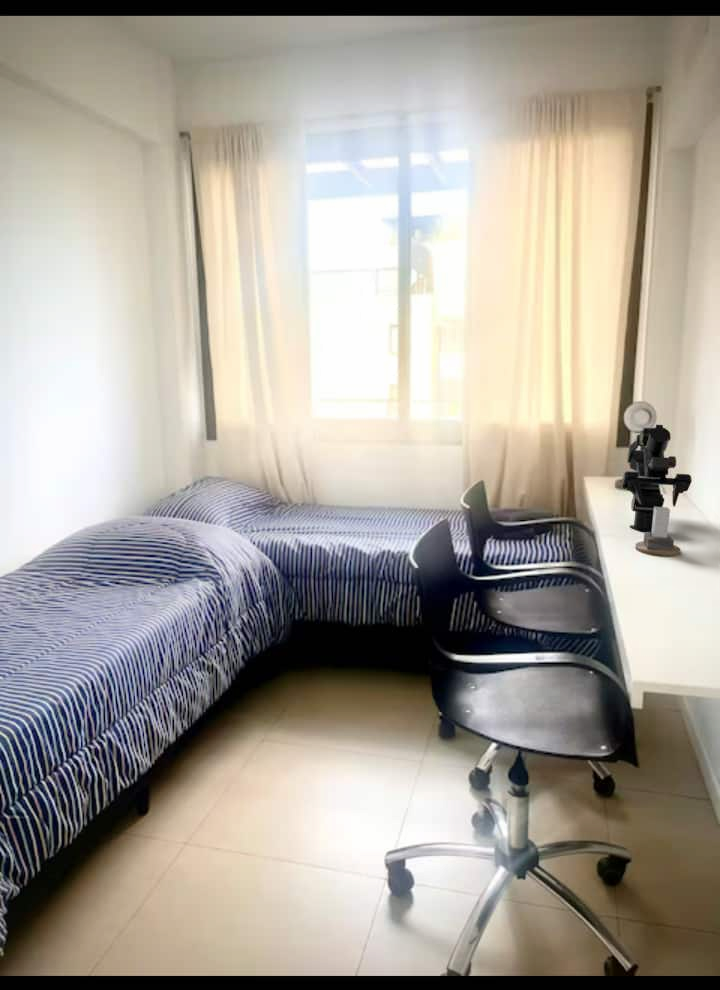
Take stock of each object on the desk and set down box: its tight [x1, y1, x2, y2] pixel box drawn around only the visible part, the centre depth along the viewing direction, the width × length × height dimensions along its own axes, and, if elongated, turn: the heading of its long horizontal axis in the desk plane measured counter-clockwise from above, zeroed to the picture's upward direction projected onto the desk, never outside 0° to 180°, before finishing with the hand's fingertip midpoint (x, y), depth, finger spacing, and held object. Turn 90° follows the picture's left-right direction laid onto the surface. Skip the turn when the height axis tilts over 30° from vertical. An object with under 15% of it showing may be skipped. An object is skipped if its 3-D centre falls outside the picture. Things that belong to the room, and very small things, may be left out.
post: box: [650, 506, 671, 539], centre depth 199 cm, size 4×4×11 cm
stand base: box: [635, 532, 681, 557], centre depth 200 cm, size 12×12×4 cm
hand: (657, 504), depth 203 cm, fingers open, 9 cm apart
